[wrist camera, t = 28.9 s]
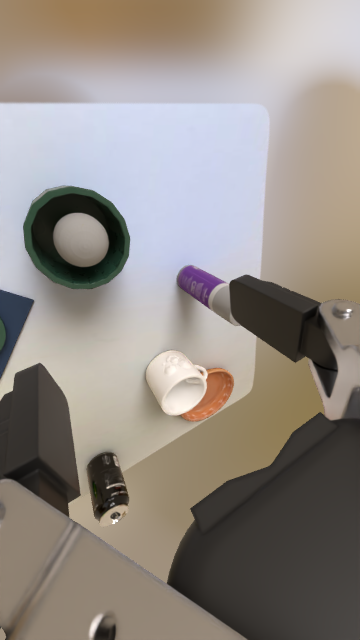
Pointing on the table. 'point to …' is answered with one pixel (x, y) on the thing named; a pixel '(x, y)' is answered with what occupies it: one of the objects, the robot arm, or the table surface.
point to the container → (207, 290)
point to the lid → (2, 333)
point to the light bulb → (80, 239)
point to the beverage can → (107, 489)
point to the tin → (41, 243)
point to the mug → (176, 382)
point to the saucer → (212, 395)
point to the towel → (12, 321)
